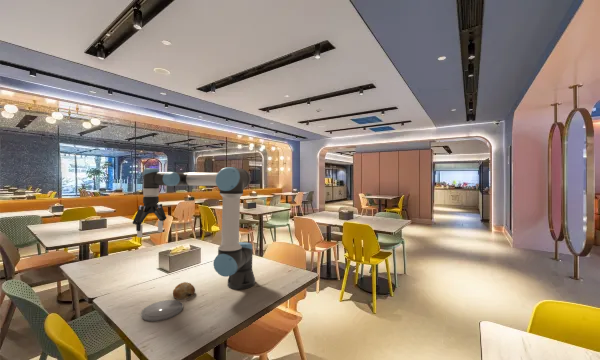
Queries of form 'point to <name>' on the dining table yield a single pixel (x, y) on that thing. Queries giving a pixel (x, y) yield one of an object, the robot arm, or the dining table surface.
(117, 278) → the dining table surface
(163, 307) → the plate
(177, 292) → the bread roll
